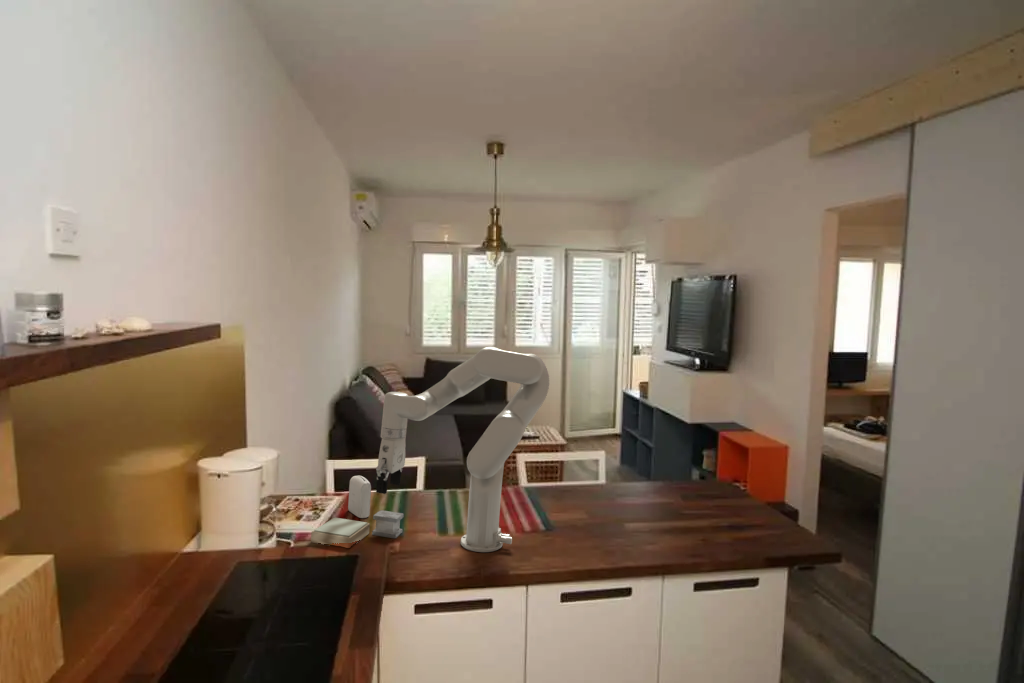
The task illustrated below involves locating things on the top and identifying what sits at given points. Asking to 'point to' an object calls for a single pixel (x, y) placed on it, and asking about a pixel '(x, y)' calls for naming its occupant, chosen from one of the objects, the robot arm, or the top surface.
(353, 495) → the photo printer
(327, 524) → the pale green flat tray
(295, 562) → the top surface
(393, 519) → the steel housing
